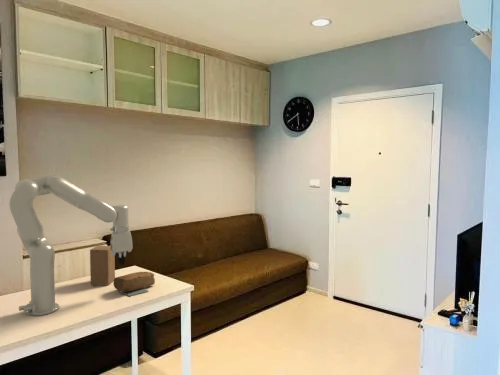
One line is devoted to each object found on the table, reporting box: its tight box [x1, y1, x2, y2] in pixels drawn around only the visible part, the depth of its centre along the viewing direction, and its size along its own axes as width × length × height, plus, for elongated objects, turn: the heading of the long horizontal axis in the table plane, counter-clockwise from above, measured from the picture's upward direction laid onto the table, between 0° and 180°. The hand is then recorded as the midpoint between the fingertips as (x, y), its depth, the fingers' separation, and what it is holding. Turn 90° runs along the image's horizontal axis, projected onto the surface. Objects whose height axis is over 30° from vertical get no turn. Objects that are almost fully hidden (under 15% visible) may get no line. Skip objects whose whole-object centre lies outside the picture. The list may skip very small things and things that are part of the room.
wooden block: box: [89, 245, 116, 286], centre depth 205 cm, size 10×10×20 cm
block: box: [112, 271, 156, 293], centre depth 196 cm, size 11×8×20 cm
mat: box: [122, 287, 149, 298], centre depth 193 cm, size 10×14×1 cm
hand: (121, 264), depth 188 cm, fingers closed
